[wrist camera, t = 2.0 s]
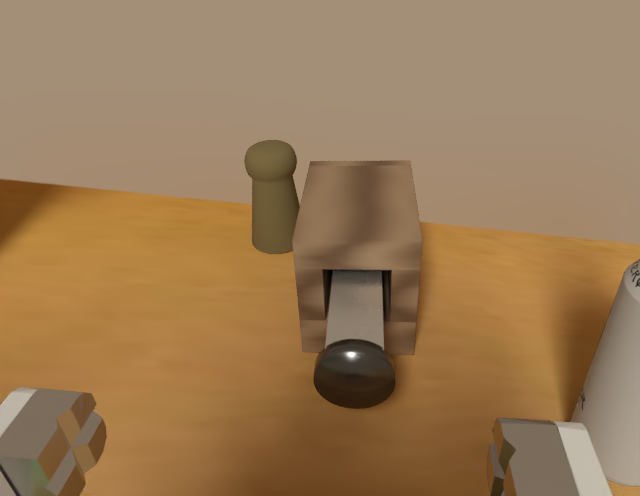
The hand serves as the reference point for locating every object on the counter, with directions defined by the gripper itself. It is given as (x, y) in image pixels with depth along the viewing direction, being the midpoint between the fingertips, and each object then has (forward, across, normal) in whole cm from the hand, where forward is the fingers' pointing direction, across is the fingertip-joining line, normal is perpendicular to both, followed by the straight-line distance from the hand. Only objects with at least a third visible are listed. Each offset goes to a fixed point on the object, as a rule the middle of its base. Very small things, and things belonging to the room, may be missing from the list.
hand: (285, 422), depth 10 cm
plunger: (+22, 0, -18) cm, 28 cm away
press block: (+30, 0, -21) cm, 36 cm away
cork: (+40, -10, -21) cm, 46 cm away
